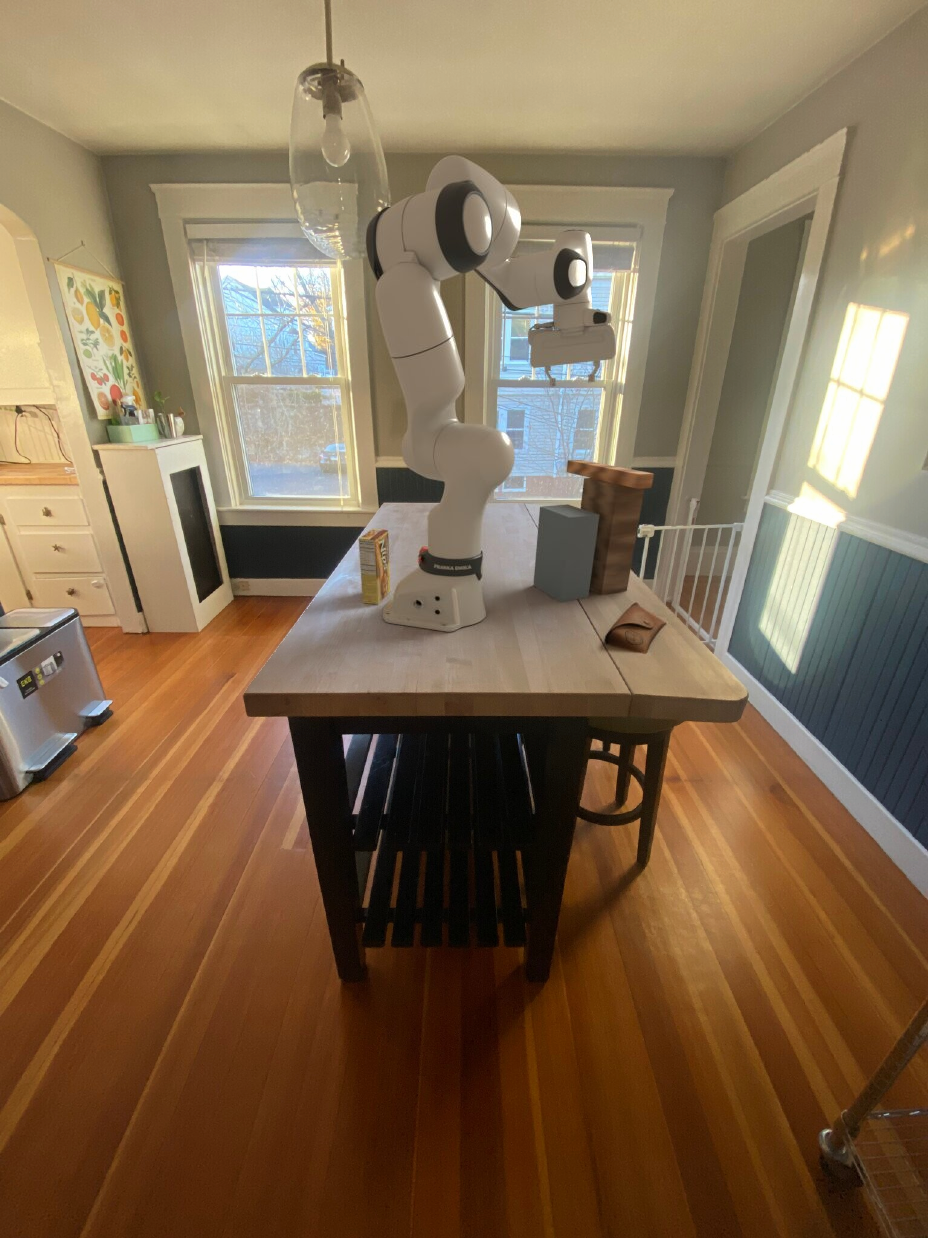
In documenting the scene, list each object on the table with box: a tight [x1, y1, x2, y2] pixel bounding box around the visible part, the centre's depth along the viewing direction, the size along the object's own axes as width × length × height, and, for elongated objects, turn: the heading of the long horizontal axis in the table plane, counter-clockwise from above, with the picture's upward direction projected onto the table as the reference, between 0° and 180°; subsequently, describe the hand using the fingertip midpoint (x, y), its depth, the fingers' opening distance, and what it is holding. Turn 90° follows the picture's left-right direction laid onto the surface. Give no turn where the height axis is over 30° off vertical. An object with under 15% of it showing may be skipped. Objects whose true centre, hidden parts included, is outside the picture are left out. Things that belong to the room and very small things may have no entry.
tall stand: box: [579, 477, 645, 596], centre depth 119 cm, size 12×8×26 cm, turn 25°
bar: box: [566, 459, 655, 489], centre depth 115 cm, size 26×4×3 cm, turn 25°
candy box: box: [358, 528, 391, 605], centre depth 111 cm, size 9×4×15 cm, turn 170°
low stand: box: [533, 503, 599, 603], centre depth 115 cm, size 12×8×20 cm, turn 25°
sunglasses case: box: [604, 602, 667, 655], centre depth 99 cm, size 18×7×7 cm, turn 148°
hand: (571, 384), depth 120 cm, fingers open, 8 cm apart
